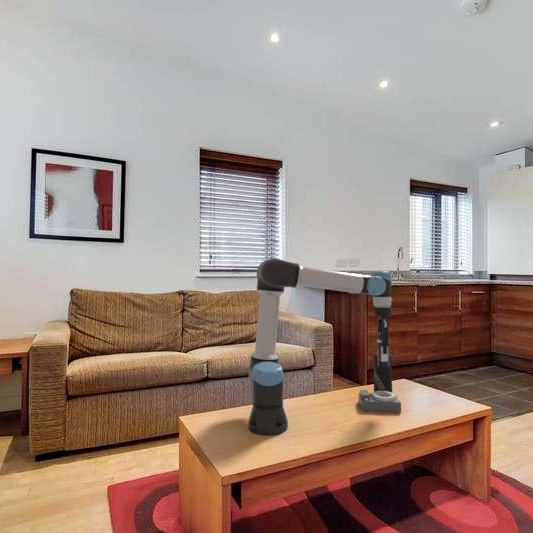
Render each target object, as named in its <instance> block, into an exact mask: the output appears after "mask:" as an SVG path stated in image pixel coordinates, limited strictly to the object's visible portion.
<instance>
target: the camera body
mask: <svg viewBox="0 0 533 533" xmlns="http://www.w3.org/2000/svg"><path fill="white" fill-rule="evenodd" d="M359 391H360V392H358V404H359V406H360V409H361V411H363V412H383V413H384V412H390V413H391V412H392V413H402V402H401V401H400V399H399V397H398V396H397V395H396V394H395V393H393V392H392V393H391V392H387V391H374V390H373V392H370V393H369V391H368V390H367V389H360V390H359Z"/></svg>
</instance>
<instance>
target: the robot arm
mask: <svg viewBox="0 0 533 533" xmlns="http://www.w3.org/2000/svg"><path fill="white" fill-rule="evenodd" d="M256 278H257V282H256V283H257V284H256V292H257V293H259V302H258V311H257V325H256V335H255V346H254V351H253V352H252V353H251V355H250V363H249V365H248V368H247V370H248V373H247V374H248V378H249V380H250V383H251V385H252V408H251V412H250V415H249V419H248V423H247V425H248V427H247V429H248V430H249V431H251V432H252V433H254V434H257V435H263V436H265V435H266V436H272V435H278V434H283V433H284V432H285V431H287V430H288V427H289V423H288V417H287V414H286V411H285V408H284V371H283V370H284V368H283V367H282V366H281V365H280V364H279V356H278V354H277V353H276V349H277V335H278V324H279V314H280V301H281V295H283V294H284V292H285V288H294V289H296V288H297V287H307V288H315V289H323V290H329V291H330V290H331V291H338V292H347V293H348V294H355V295H356V294H361V295H367V296H368V295H370V296H372V298H373V299H372V300H373V301H372V302H373V306H374V307H373V315H374V316H377V317H378V318H377V319H376V322H377V327H376V328H377V329H376V330H377V333H380V332H381V342H382V344H381V345H380V346H381V361H388V346H389V347H390V334H389V332H390V330H389V327H390V326H389V325H390V323H389V320H388V318H387V317H390V316H392V314H393V313H392V310H393V309H392V307H391V306H392V301H393V298H392V275H391V272H390V271H388V270H387V271H385V270H384V271H383V270H382V271H381V270H380V271H373V272H372V275H365V274H358V273H350V272H343V271H337V270H331V269H330V270H329V269H322V268H314V267H309V266H308V267H305V266H301V264H300V263H298V262H290V261H288V260H287V261H286V260H284V259H279V258H270V259H266V260H264V261H262V262H261V263H260V264H259V266H257V270H256Z"/></svg>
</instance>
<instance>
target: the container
mask: <svg viewBox="0 0 533 533" xmlns="http://www.w3.org/2000/svg"><path fill="white" fill-rule="evenodd" d="M372 357H373V392H374V391H387V392H391V393H393V377H392V376H393V375H392V370H393V369H392V358H393V355H392V354H391V353H390V352H389V363H390V366H389V367H379V366H378V360H377V352H374V353H373V354H372Z"/></svg>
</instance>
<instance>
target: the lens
mask: <svg viewBox="0 0 533 533" xmlns="http://www.w3.org/2000/svg"><path fill="white" fill-rule="evenodd" d="M376 344H377V345H376V346H377V347H376V348H377V350H376V351H377V352H376V353H377V360H378V366H379V367H389V366H390V363H389V353H390V345H389V346H388V361H381V346H380V345H381V344H382V342H381V332H380V333H378V332H377V333H376Z"/></svg>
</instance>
